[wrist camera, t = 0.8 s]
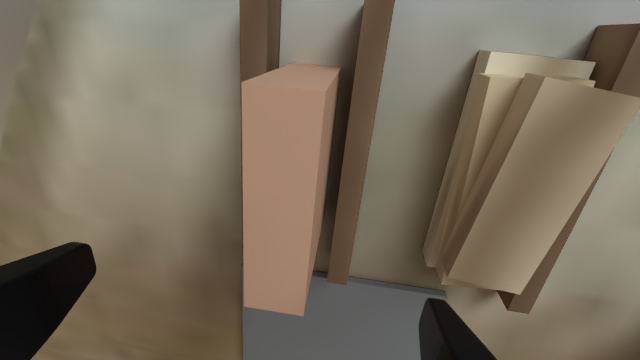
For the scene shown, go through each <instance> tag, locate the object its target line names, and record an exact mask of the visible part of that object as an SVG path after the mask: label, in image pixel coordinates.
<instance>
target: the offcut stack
mask: <svg viewBox="0 0 640 360" xmlns="http://www.w3.org/2000/svg"><path fill="white" fill-rule="evenodd" d="M595 64H596V62H589V61H580V60H571V59H561V58H551V57H542V56H532V55H522V54H513V53H503V52H493V51H484V50H479V54H478V57H477V61H476V64H475V68H474V71H473V75H472V78H471V82H470V85H469V89H468V92H467V96H466V99H465V103H464V106H463V110H462V113H461V117H460V120H459V124H458V127H457V131H456V134H455V138H454V141H453V145H452V148H451V152H450V155H449V159H448V163H447V166H446V170H445V173H444V177H443V180H442V184H441V187H440V191H439V194H438V198H437V201H436V205H435V208H434V212H433V215H432V219H431V222H430V226H429V229H428V233H427V236H426V240H425V243H424V247H423V250H422V252H423V255H424V258H425V262H426V265H427V266H428V267H435V268H436V270H437V273H438V276H439V279H440V282H441V284H442V285H453V286H463V287H473V288H483V289H493V290H502V291H506V292H510V293H515V294H519V295H520V294H521V292H522V291H523V289H524V288H525V286H526V285H527V283H528V282H529V280H530V278H531V277H532V275H533V274H534V272H535V271H536V269H537V267H538V266H539V264H540V263H541V261H542V260H543V258H544V257H545V255H546V253H547V252H548V250H549V249H550V247H551V246H552V244H553V243H554V241H555V239H556V238H557V236H558V235H559V233H560V232H561V230H562V228H563V227H564V225H565V224H566V222H567V221H568V219H569V218H570V216H571V214H572V213H573V211H574V210H575V208H576V207H577V205H578V204H579V202H580V200H581V199H582V197H583V196H584V194H585V193H586V191H587V189H588V188H589V186H590V185H591V183H592V182H593V180H594V179H595V177H596V175H597V174H598V172H599V171H600V169H601V168H602V166H603V164H604V163H605V161H606V160H607V158H608V157H609V155H610V154H611V152H612V150H613V149H614V147H615V146H616V144H617V143H618V141H619V140H620V138H621V136H622V135H623V133H624V132H625V130H626V129H627V127H628V125H629V124H630V122H631V121H632V119H633V118H634V116H635V115H636V113H637V111H638V110H639V108H640V98H639V97H634V96H630V95H625V94H621V93H616V92H612V91H607V90H603V89H598V88H594V84H595V81H593V80H589V77H590V75H591V73H592V70H593V68H594V66H595Z"/></svg>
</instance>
